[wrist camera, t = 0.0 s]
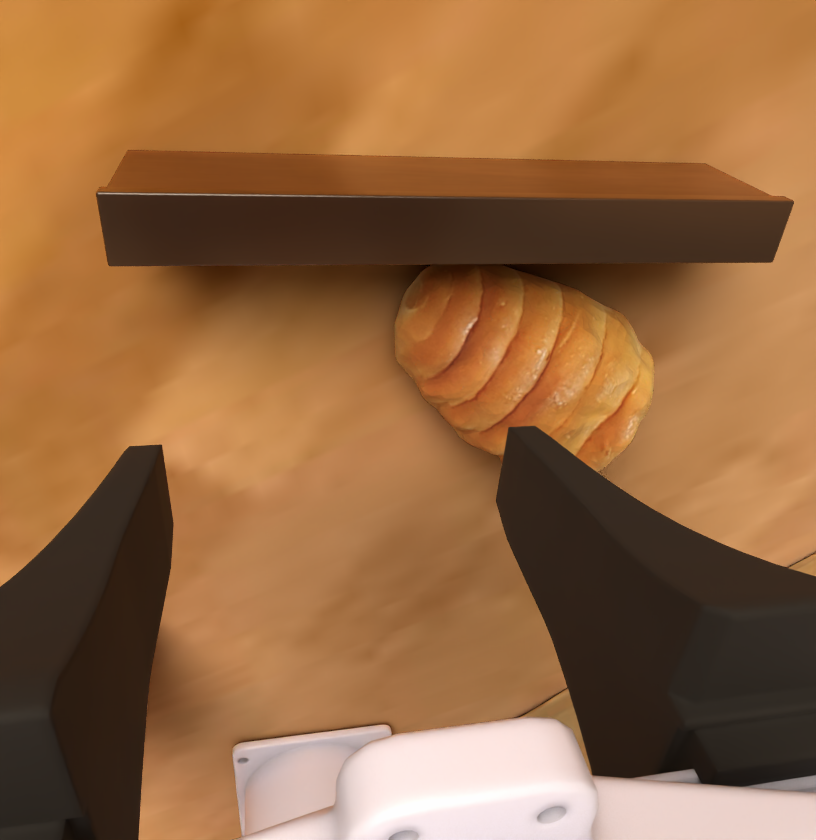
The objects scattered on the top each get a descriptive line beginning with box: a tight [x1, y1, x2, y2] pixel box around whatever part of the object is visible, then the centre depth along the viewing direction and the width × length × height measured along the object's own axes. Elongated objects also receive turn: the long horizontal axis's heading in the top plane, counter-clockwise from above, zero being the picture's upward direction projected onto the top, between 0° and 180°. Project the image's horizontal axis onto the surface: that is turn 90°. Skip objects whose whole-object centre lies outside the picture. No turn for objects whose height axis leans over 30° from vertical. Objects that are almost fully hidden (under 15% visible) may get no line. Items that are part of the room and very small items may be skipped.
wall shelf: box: [96, 150, 794, 266], centre depth 20 cm, size 2×18×4 cm, turn 86°
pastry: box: [394, 264, 654, 472], centre depth 24 cm, size 9×7×4 cm
